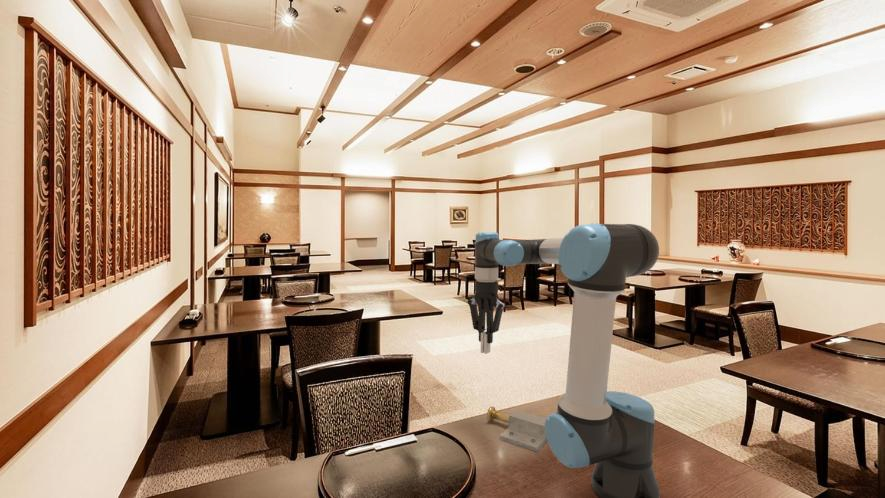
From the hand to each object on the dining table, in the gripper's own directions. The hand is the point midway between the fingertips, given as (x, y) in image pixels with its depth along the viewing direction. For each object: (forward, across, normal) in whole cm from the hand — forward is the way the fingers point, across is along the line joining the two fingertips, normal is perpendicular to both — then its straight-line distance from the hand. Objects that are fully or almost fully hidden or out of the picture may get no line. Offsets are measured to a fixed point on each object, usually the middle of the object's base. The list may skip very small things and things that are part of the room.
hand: (485, 352), depth 138 cm
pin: (+22, -9, 0) cm, 24 cm away
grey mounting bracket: (+22, -16, 0) cm, 28 cm away
